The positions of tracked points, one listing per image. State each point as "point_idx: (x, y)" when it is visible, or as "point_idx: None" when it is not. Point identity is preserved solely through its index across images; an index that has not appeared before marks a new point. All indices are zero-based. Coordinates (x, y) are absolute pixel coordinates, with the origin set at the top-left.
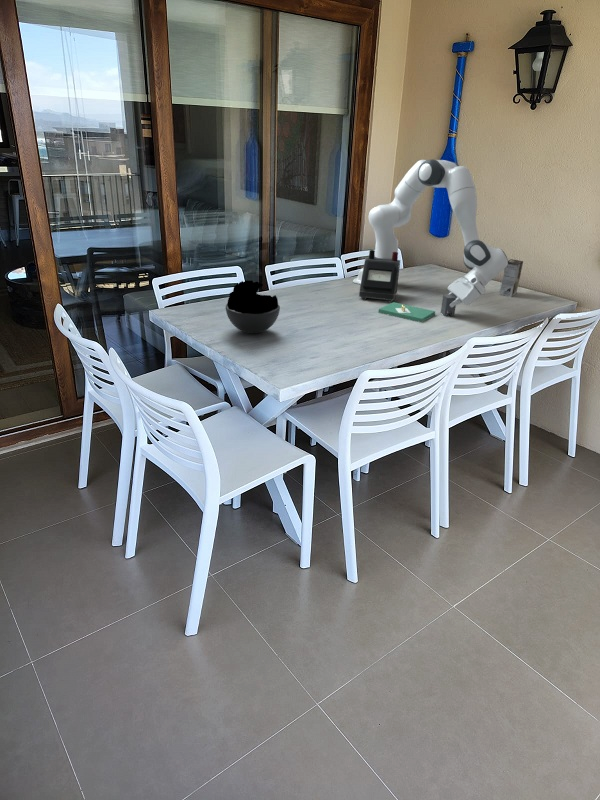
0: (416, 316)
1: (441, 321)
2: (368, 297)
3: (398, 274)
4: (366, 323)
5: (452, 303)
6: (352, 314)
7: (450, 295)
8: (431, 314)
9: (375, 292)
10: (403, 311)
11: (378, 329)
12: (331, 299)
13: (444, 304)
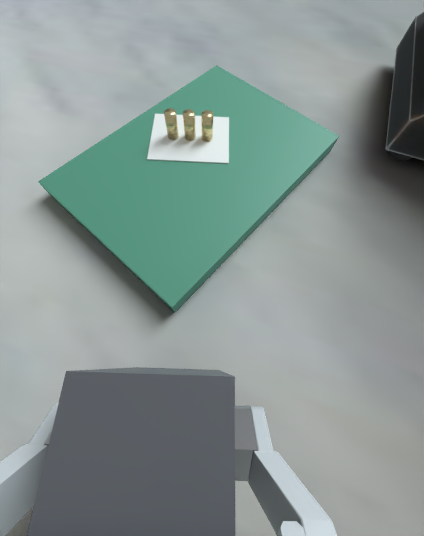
0: (83, 168)
1: (34, 306)
2: (394, 70)
3: None
4: (88, 32)
5: (37, 438)
6: (191, 20)
7: (186, 492)
8: (130, 269)
9: (416, 56)
10: (167, 132)
11: (15, 45)
12: (361, 6)
13: (149, 370)
